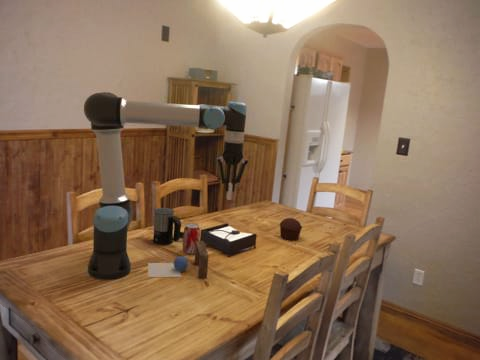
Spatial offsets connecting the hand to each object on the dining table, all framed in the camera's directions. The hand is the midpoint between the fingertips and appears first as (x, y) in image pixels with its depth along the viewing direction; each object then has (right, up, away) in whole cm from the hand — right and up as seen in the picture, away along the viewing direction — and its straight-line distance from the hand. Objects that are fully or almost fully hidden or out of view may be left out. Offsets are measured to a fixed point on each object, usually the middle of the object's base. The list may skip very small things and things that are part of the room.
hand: (228, 199), depth 163 cm
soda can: (-17, -24, +10) cm, 31 cm away
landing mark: (-25, -27, -10) cm, 38 cm away
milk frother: (-27, -20, +21) cm, 40 cm away
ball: (-18, -24, -9) cm, 32 cm away
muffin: (+30, -22, +39) cm, 54 cm away
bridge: (-11, -27, -7) cm, 30 cm away
